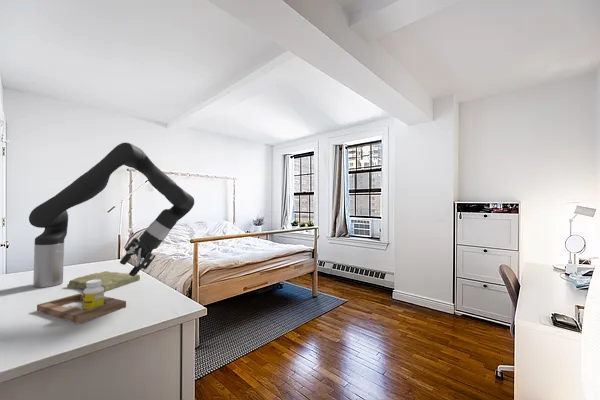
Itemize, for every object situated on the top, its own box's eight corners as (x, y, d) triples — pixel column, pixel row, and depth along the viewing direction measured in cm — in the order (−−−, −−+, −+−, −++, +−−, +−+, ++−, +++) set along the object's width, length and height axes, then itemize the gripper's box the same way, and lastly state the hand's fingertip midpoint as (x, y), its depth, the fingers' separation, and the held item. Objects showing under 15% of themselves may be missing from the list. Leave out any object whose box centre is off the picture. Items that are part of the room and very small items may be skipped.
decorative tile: (104, 277, 128) (104, 270, 128) (140, 280, 124) (140, 273, 124) (62, 289, 110) (62, 280, 110) (103, 294, 106) (103, 284, 106)
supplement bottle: (78, 313, 86) (79, 282, 86) (96, 307, 91) (97, 278, 92) (89, 316, 84) (90, 284, 84) (107, 309, 89) (108, 279, 90)
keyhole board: (36, 311, 87) (37, 304, 87) (85, 297, 100) (85, 291, 100) (79, 323, 79) (79, 316, 79) (125, 307, 92) (126, 300, 92)
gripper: (139, 222, 107) (110, 257, 104) (156, 238, 100) (125, 277, 96) (154, 229, 113) (127, 263, 110) (171, 245, 106) (142, 281, 102)
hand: (126, 269), depth 103 cm, fingers open, 8 cm apart
